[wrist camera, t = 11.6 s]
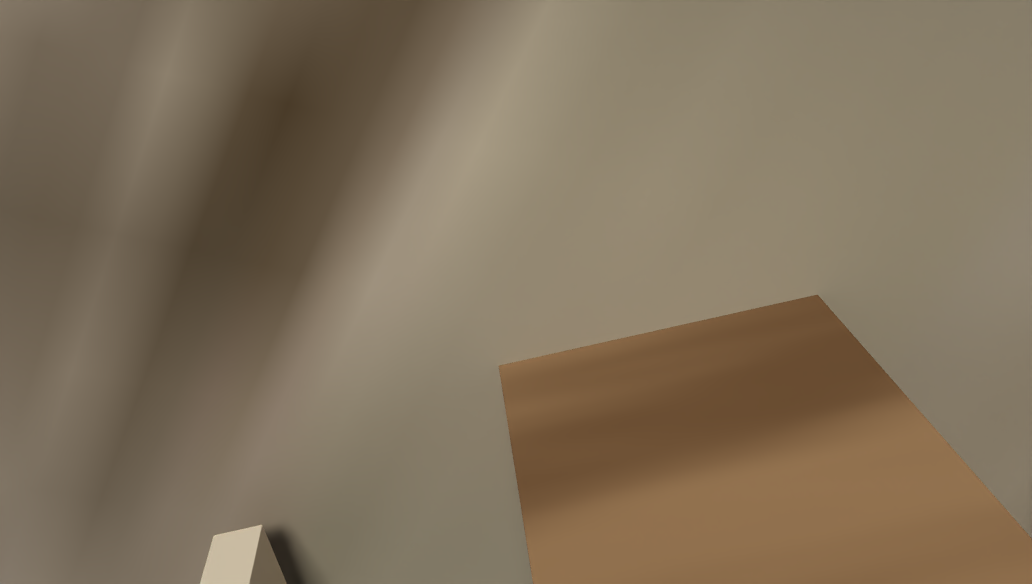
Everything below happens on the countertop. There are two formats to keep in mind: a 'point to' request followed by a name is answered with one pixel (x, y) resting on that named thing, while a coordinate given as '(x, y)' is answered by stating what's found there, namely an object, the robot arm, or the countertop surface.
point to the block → (744, 463)
